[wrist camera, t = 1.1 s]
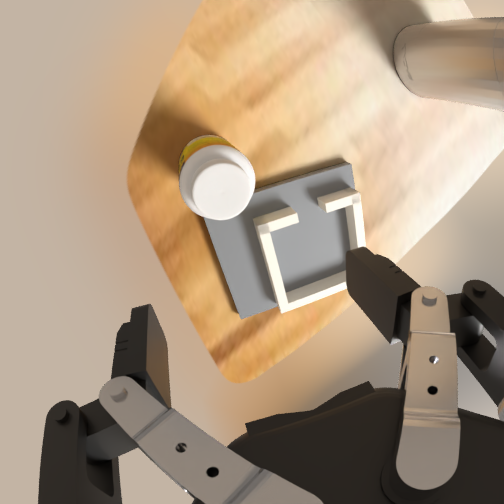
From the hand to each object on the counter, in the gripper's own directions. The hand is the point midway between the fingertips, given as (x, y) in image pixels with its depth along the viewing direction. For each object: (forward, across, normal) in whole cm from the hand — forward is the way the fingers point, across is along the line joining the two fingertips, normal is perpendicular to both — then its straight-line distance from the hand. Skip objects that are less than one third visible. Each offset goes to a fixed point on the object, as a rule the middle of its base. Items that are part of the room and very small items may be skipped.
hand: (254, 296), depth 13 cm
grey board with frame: (+20, -8, +9) cm, 23 cm away
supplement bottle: (+20, -1, -1) cm, 20 cm away
